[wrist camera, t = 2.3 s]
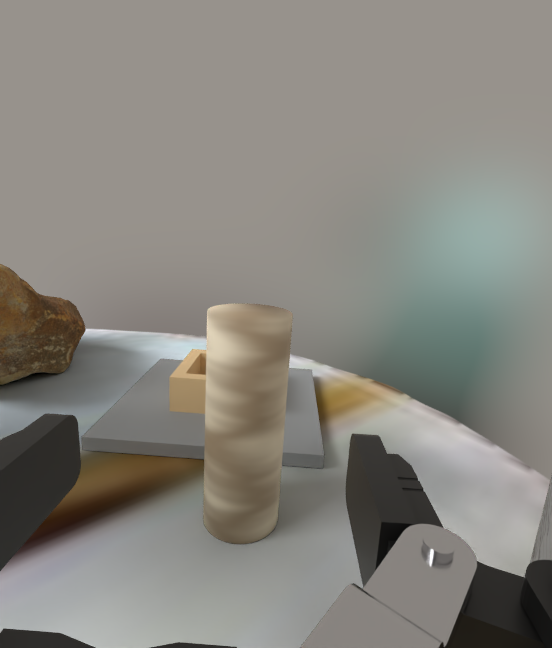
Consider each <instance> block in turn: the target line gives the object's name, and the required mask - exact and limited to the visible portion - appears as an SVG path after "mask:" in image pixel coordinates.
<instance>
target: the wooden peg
mask: <svg viewBox="0 0 552 648" xmlns="http://www.w3.org/2000/svg"><path fill="white" fill-rule="evenodd" d="M292 318H293V315H292V313H291V312H290V311H288V310H286V309H283V308H279V307H274V306H268V305H260V304H224V305H217V306H213V307H211V308H209V309H208V310H207V351H206V401H205V451H204V502H203V521H204V525H205V527H206V529H207V530H208V531H209V533H210V534H212V535H213V536H214V537H216V538H217V539H219V540H221V541H224V542H228V543H233V544H247V543H252V542H256V541H259V540H261V539H263V538H265V537H266V536H267V535H269V534H270V533H271V532H272V531H273V529H274V528H275V526H276V524H277V520H278V509H279V496H280V482H281V468H282V455H283V441H284V427H285V414H286V400H287V386H288V373H289V359H290V345H291V332H292Z"/></svg>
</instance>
